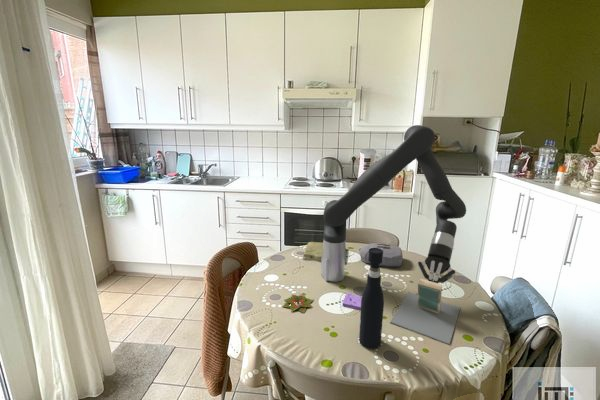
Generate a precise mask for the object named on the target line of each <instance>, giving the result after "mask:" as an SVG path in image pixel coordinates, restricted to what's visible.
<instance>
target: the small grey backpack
mask: <svg viewBox="0 0 600 400" xmlns="http://www.w3.org/2000/svg"><path fill="white" fill-rule="evenodd" d="M370 248H379V249H381V250H383V259H382V263H381V264H380V266H379V267H384V268H385V267H386V268H387V267H388V268H398V267H399V268H400V267H401V265H402V264H403V250H402V248H401V247H400V246H396V245H393V244H386V243H382V242H381V243H380V242H379V243H378V242H374V243H373V242H371V243H367V244H365V245H363V246H362V247H361V248H360V250H359V256H360V260H361V261H362V262H364V263H365V264H370V262H369V261H368V255H369V249H370Z"/></svg>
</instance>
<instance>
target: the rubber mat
mask: <svg viewBox="0 0 600 400" xmlns="http://www.w3.org/2000/svg"><path fill="white" fill-rule="evenodd" d="M460 310H461V307H460V306H456V305H453V304H450V303H447V302H443V301H441V309H440V312H439V314H438V313H435V312H432V311H429V310H426V309H423V308H420V307H418V293H414V292H410V291H408V292H407V293H406V295H405V297H404V299H403V300H402V302H401V303H400V305H399V307H398V309H397V310H396V312H395V313H394V315H393V317H391V320H390V322H389V323H390V324H392V325H395V326H397V327H400V328H403V329H405V330H408V331H410V332H414V333H416V334H418V335H422V336H424V337H427V338H429V339H433V340H435V341H438V342H439V343H442V344H446V345H448V344H449V345H448V346H450V344H451V341H452V338H453V337H452V336H453V334H454V330H455V327H456V324H457V320H458V316H459V313H460Z"/></svg>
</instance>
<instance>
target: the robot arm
mask: <svg viewBox="0 0 600 400" xmlns="http://www.w3.org/2000/svg"><path fill="white" fill-rule="evenodd" d="M403 140H404V141H402V143H401V144H400V145H399V146H398V147H396V149H395V150H393V151H392V152H390V153H388V154H387V155H385V156H384V157H382V158H380V159H378V160H377V161H375V162H374V163H372V164H371V165H370V166H369V167H367V169H365V171H363V172H362V174H360V175H359V177H358V178H357V179H356V180H355V182H353V184H352V186H351V187H350V188H349V189H348V190H347V192H346V193H345V194H344V195H342V196H341V197H340V198H339V199H334V200H330V201H329V202H327V204H325V207H324V211H323V222H324V223H323V238H322V239H323V241H322V243H323V254H322V258H321V262H320V263H321V264H320V265H321V271H320V272H321V276H322V279H323V280H324V281H325V282H335V283H336V282H337V283H338V282H340V281H341V282H342V281H344V278H345V275H346V274H345V272H346V270H345V268H346V266H345V265H346V251H345V245H346V242H347V241H346V240H347V220H348V219H349V218H350V217H351V216H352V215H353V213H355V211H356V210H357V209H358V208H360V207H361V206H362V205H364V203H366V202H367V201H368V200H369V199H371V198H372V197H373V196H375V195H376V194H377V193H378V192H379V191H381V190H382V189H383V188H384V187H385V186H387V185H388V184H389V182H390V181H392V180H393V179H394V178H395V177H396V176H397V175H399V174H400V172H401V171H403V170H404V168H406V167H407V166H408V165H409V164H410V163H412V162H413V161H415V160H416V162H417V164H418V165H419V167H420V169H421V171H422V173H423V176H424V178H425V180H426V182H427V184H428V188H429V189H430V191H431V194H432V195H433V197H434V198H435V199H436V200H439V201H440V202H439V203H437V205H436V207H435V219H436V221H435V222H436V227H435V229H434V234H433V236H432V239H431V242H430V246H429V250H428V252H427V253H428V254H427V257H426V258H425V259H424V260H423V261H418V262H417V264H418V268H419V269H420V272H421V274H422V275H423V277H424V280H427V281H431V282H434V283H438V284H444V283H446V282H447V281H448V280H450V279H452V277H455V276H456V270H454V269H453V268H452V267H451V259H452V255H453V251H454V245H455V238H456V237H455V236H456V233H457V228H458V227H457V224H456V223H455V222H454V221H451V220H450V219H452V220H453V219H454V220H455V219H462V218H464V217H465V216H466V213H467V207H466V204H465V202H464V200H462V198H461V197H460V196H459V195H458V194H457V193H456V191H455V190H454V189H453V188H452V185H451V182H450V180H449V178H448V176H447V174H446V173H445V171H444V170H443V168H442V167H441V165H440V163H439V162H438V160H437V158H436V156H435V155H434V152H433V150H432V147H433V145H434V143H435V142H436V141H435V140H436V134H435V132H434V130H432V129H431V128H430V127H428V126H425V125H421V124H417V125H416V124H415V125H412V126H409V127H408V128H407V129H406V131H405V133H404V135H403ZM346 246H347V245H346ZM426 267H427V269H428V271H429V274H428V272H427V270H426ZM446 272H447V273H446ZM444 273H445V274H444ZM443 274H444V275H443Z"/></svg>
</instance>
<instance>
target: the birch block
mask: <svg viewBox="0 0 600 400" xmlns="http://www.w3.org/2000/svg"><path fill="white" fill-rule="evenodd" d="M442 289H443V283H434V282H431V281H428V279H423V278H419V280H418V283H417V294H418V307H420V308H423V309H426V310H429V311H432V312H435V313H438V314H439V312H440V309H441V302H442V294H443V291H442Z"/></svg>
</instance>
